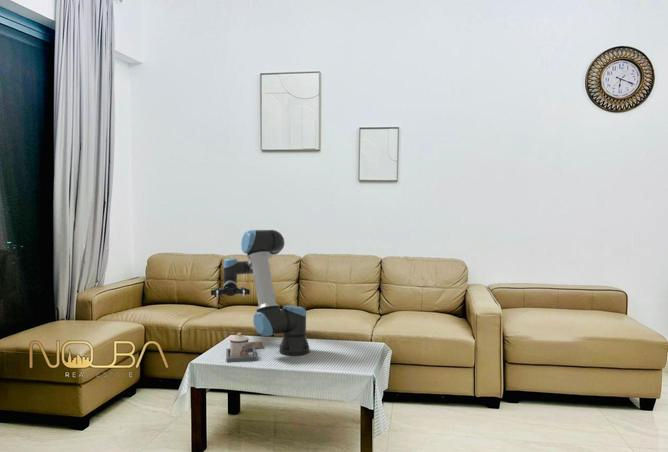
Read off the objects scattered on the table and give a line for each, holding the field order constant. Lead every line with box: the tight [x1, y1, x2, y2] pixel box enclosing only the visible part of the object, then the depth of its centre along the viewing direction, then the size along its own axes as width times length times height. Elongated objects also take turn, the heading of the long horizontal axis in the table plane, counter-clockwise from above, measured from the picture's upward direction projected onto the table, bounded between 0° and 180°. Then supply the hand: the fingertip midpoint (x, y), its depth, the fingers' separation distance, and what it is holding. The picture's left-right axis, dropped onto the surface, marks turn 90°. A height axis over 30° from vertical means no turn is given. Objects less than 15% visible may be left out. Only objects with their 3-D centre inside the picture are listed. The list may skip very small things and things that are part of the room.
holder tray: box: [225, 347, 257, 363], centre depth 247 cm, size 14×17×2 cm
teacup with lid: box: [229, 332, 250, 358], centre depth 246 cm, size 12×9×12 cm
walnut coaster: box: [248, 341, 264, 350], centre depth 265 cm, size 12×12×1 cm
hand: (230, 294), depth 258 cm, fingers open, 13 cm apart
